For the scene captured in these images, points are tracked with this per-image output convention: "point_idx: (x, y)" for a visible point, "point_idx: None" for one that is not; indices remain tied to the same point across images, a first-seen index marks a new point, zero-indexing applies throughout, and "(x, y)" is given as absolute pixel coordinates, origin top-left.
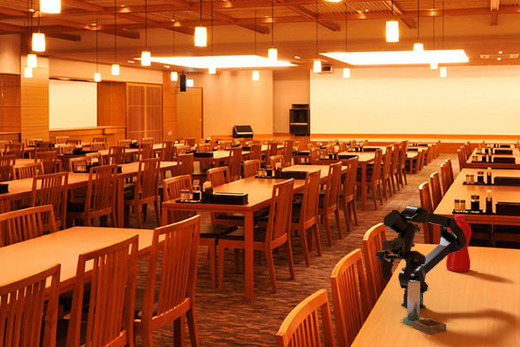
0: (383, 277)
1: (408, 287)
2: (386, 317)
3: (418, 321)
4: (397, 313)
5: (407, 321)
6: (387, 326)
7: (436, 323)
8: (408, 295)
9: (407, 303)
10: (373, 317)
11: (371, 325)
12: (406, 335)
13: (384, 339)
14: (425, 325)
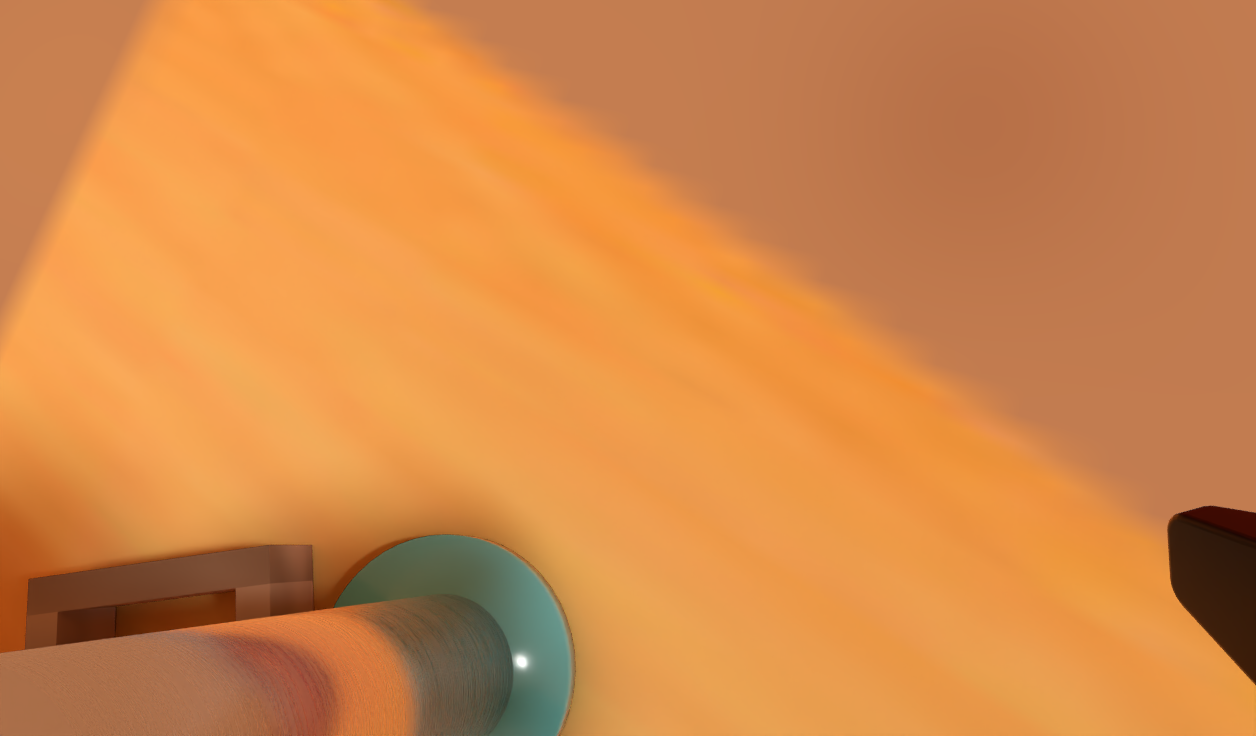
0: (1213, 514)
1: (114, 642)
2: (726, 451)
3: (236, 609)
4: (833, 692)
5: (412, 558)
6: (446, 299)
7: None
8: (237, 621)
9: (380, 626)
10: (781, 299)
11: (538, 156)
12: (163, 345)
13: (178, 108)
14: (100, 598)
